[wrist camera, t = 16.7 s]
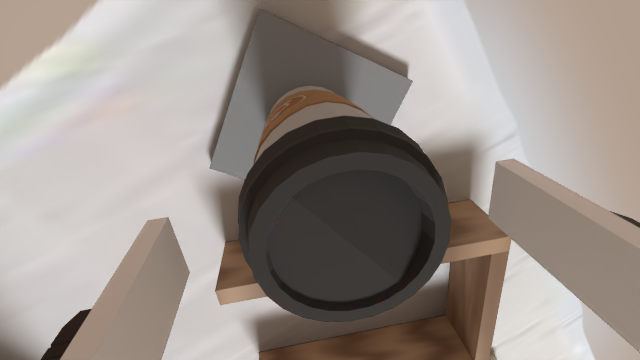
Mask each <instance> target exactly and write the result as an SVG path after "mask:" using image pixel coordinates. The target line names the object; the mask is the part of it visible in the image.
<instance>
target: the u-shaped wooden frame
mask: <svg viewBox="0 0 640 360" xmlns="http://www.w3.org/2000/svg"><path fill="white" fill-rule="evenodd" d="M448 208H449V212H450V216H451V231H450V241H449V244H448V247H447V250H446V252H445V255H444V258H443V260H442V262H441V264H442V263H448V262H450V274H449V286H448V298H447V309H446V315H444V316H439V317H434V318H429V319H424V320H419V321H414V322H409V323H404V324H399V325H394V326H389V327H384V328H379V329H374V330H369V331H364V332H359V333H354V334H349V335H344V336H339V337H334V338H329V339H324V340H319V341H314V342H309V343H304V344H299V345H294V346H289V347H283V348H278V349H273V350H268V351H263V352H259V360H489V356H490V351H491V345H492V340H493V335H494V329H495V324H496V319H497V313H498V308H499V303H500V297H501V292H502V286H503V281H504V276H505V270H506V265H507V260H508V254H509V249H510V244H511V238H510V237H509V236H508V235H507V234H505V233H504V232H503V231H502V230H501V229H500V228H499V227H498V226H496V225H495V224H494V223H493V222H492V221H491V220H490V219H488V215H487V214H486V213H485V212H484V211H483V210H482V209H481V208H479V207H478V206H477V205H476V204H475V203H474V202H473V201H472V200H465V201H459V202H454V203H448ZM215 292H216V294H217V297H218V300H219V303H220V305H224V304H229V303H235V302H240V301H245V300H251V299H256V298H261V297H267V296H266V294H265V293H264V291H263V290H262V289H261V287H260V286H259V284H258V283H257V281H256V280H255V278H254V276H253V272H252V270H251V268H250V267H249V265H248V264H247V263H246V261H245V258H244V255H243V251H242V248H241V244H240V241H239V240H236V241H230V242H226V243H225V247H224V252H223V257H222V261H221V266H220V271H219V275H218V280H217V285H216V290H215Z"/></svg>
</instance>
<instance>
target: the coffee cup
mask: <svg viewBox="0 0 640 360" xmlns="http://www.w3.org/2000/svg"><path fill="white" fill-rule="evenodd" d="M238 223H239V241H240V244H241V248H242V251H243V255H244V258H245V261H246V263H247V264H248V265H249V267H250V268H251V270H252V272H253V276H254V278H255V280H256V281H257V283H258V284H259V286H260V287H261V289H262V290H263V291H264V293H265V294H266V296H268V297H269V298H270V299H271V300H273V301H274V302H275V303H276V304H278V305H279V306H280V307H282V308H283V309H285V310H287V311H289V312H292V313H294V314H296V315H299V316H301V317H303V318H308V319H314V320H319V321H324V322H341V321H353V320H358V319H363V318H368V317H372V316H374V315H377V314H379V313H382V312H384V311H387V310H389V309H392V308H394V307H396V306H397V305H399V304H400V303H402V302H403V301H405V300H407V299H408V298H410V297H411V296H413V295H414V294H415V293H416V292H417V291H418V290H419V289H420V288H421V287H422V286H423V285H425V284H426V283H427V282H428V281H429V280H430V278H431V277H432V275H433V274H434V273H435V271H436V270H437V268H438V267H439V265H440V264H441V262H442V260H443V258H444V255H445V252H446V250H447V247H448V244H449V241H450V231H451V216H450V212H449V208H448V204H447V197H446V193H445V189H444V185H443V182H442V178H441V176H440V175H439V173H438V172H437V170H436V169H435V167H434V166H433V164H432V162H431V161H430V159H429V158H428V157H427V155H426V154H424V153H423V151H422V149H421V148H420V146H419V145H418V144H417V143H416V142H415V141H413V140H412V139H411V138H410V137H408V136H407V135H406V134H405V133H404V132H402V131H401V130H400V129H399V128H396V127H394V126H391V125H389V124H386V123H384V122H381V121H379V120H376V119H374V118H373V117H371V116H370V115H369V114H368V113H366V112H365V111H364V110H363V109H361V108H359V107H358V106H356V105H355V104H353V103H351V102H350V101H348V100H347V99H345V98H343V97H342V96H339V95H337V94H335V93H334V92H332V91H330V90H327V89H325V88H323V87H318V86H303V87H298V88H295V89H293V90H291V91H289V92H287V93H286V94H284V95H283V96H282V97H281V98H280V99H279V100H278V101H277V102H276V104H275V105H274V106H273V108H272V109H271V112H270V114H269V116H268V118H267V121H266V124H265V126H264V129H263V132H262V135H261V139H260V142H259V145H258V148H257V151H256V154H255V157H254V165H253V166H252V168H251V169H250V171H249V172H248V173H247V176H246V179H245V182H244V184H243V187H242V190H241V193H240V196H239V207H238Z"/></svg>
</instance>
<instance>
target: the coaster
mask: <svg viewBox="0 0 640 360" xmlns="http://www.w3.org/2000/svg"><path fill="white" fill-rule="evenodd" d="M412 82H413V81H412V80H410V79H408V78H406V77H404V76H402V75H399V74H397V73H395V72H393V71H391V70H389V69H387V68H385V67H382V66H380V65H378V64H376V63H374V62H372V61H370V60H368V59H365V58H363V57H361V56H359V55H357V54H355V53H353V52H351V51H348V50H346V49H344V48H342V47H340V46H338V45H336V44H334V43H331V42H329V41H327V40H325V39H323V38H321V37H319V36H317V35H314V34H312V33H310V32H308V31H306V30H304V29H302V28H300V27H297V26H295V25H293V24H291V23H289V22H287V21H285V20H283V19H280V18H278V17H276V16H274V15H272V14H270V13H268V12H266V11H264V10H261V9H259V12H258V15H257V18H256V21H255V25H254V28H253V31H252V34H251V37H250V41H249V44H248V47H247V50H246V53H245V56H244V60H243V63H242V66H241V69H240V72H239V75H238V79H237V82H236V85H235V88H234V91H233V95H232V98H231V101H230V104H229V107H228V110H227V114H226V117H225V120H224V123H223V126H222V130H221V133H220V136H219V139H218V142H217V145H216V149H215V152H214V155H213V158H212V161H211V164H210V169H213V170H216V171H220V172H223V173H226V174H229V175H233V176H236V177H239V178H242V179H246V176H247V173H248V172H249V171H250V169H251V168H252V166H253V165H254V157H255V154H256V151H257V148H258V145H259V142H260V139H261V135H262V132H263V129H264V126H265V124H266V121H267V118H268V116H269V114H270V112H271V109H272V108H273V106H274V105H275V104H276V102H277V101H278V100H279V99H280V98H281V97H282V96H283V95H284V94H286V93H287V92H289V91H291V90H293V89H295V88H298V87H303V86H318V87H323V88H325V89H327V90H330V91H332V92H334V93H335V94H337V95H339V96H342V97H343V98H345V99H347V100H348V101H350V102H351V103H353V104H355V105H356V106H358V107H359V108H361V109H363V110H364V111H365V112H366V113H368V114H369V115H370V116H371V117H373V118H374V119H376V120H379V121H381V122H384V123H386V124H389V125H390V124H391V122H392V120H393V119H394V117H395V115H396V113H397V111H398V109H399V107H400V105H401V103H402V101H403V99H404V97H405V95H406V93H407V91H408V89H409V88H410V86H411V84H412Z"/></svg>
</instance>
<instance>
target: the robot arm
mask: <svg viewBox="0 0 640 360" xmlns="http://www.w3.org/2000/svg"><path fill="white" fill-rule="evenodd" d="M488 219H490V220H491V221H492V222H493V223H494V224H495V225H496V226H498V227H499V228H500V229H501V230H502V231H503V232H504V233H505V234H507V235H508V236H509V237H510V238H511V239H512V240H513V241H514V242H516V243H517V244H518V245H519V246H520V247H521V248H522V249H523V250H525V251H526V252H527V253H528V254H529V255H530V256H531V257H532V258H534V259H535V260H536V261H537V262H538V263H539V264H540V265H541V266H543V267H544V268H545V269H546V270H547V271H548V272H549V273H550V274H552V275H553V276H554V277H555V278H556V279H557V280H558V281H559V282H561V283H562V284H563V285H564V286H565V287H566V288H567V289H568V290H570V291H571V292H572V293H573V294H574V295H575V296H576V297H577V298H579V299H580V300H581V301H582V302H583V303H584V304H585V305H587V306H588V307H589V308H590V309H591V310H592V311H593V312H594V313H595V314H597V315H598V316H599V317H600V318H601V319H602V320H603V321H604V322H606V323H607V324H608V325H609V326H610V327H611V328H612V329H613V330H615V331H616V332H617V333H618V334H619V335H620V336H621V337H622V338H624V339H625V340H626V341H627V342H628V343H629V344H631V345H632V346H633V347H634V348H635V349H636V350H637V351H639V353H640V223H639V222H637V221H635V220H633V219H631V218H628V217H625V216H623V215H619V214H617V213H614V212H611V211H608V210H606V209H604V208H602V207H601V206H599V205H597V204H595V203H593V202H592V201H590V200H588V199H586V198H584V197H583V196H580V195H579V194H577V193H575V192H573V191H572V190H570V189H568V188H566V187H564V186H562V185H561V184H559V183H557V182H555V181H553V180H552V179H550V178H548V177H546V176H544V175H543V174H541V173H539V172H537V171H535V170H533V169H532V168H530V167H528V166H526V165H524V164H523V163H521V162H519V161H517V160H515V159H509V160H503V161H497V162H496V165H495V172H494V180H493V187H492V194H491V201H490V208H489V215H488ZM189 273H190V272H189V269H188V267H187V264H186V262H185V259H184V256H183V254H182V251H181V249H180V246H179V244H178V241H177V238H176V236H175V233H174V231H173V228H172V226H171V223H170V220H169V218H168V217H166V218H160V219H154V220H148V221H147V222H146V224H145V225H144V227H143V229H142V230H141V232H140V233H139V235H138V236H137V238H136V240H135V241H134V243H133V244H132V246H131V248H130V249H129V251H128V252H127V254H126V256H125V257H124V259H123V260H122V262H121V263H120V265H119V267H118V268H117V270H116V271H115V273H114V275H113V276H112V278H111V279H110V281H109V283H108V284H107V286H106V287H105V289H104V290H103V292H102V294H101V295H100V297H99V298H98V300H97V302H96V303H95V305H94V306H93V308H92V309H88V310H83V311H80V312H79V313H78V314H77V315H76V316H74V317H73V318H72V319H71V320H70V321H69V322H68V323H67V324H66V325H65V326H64V327H63V328H62V329H61V331H60V332H59V334H58V335H57V337H56V338H55V339H54V341H53V342H52V344H51V348H48V350H47V351H46V353H45V354H44V355H43V357H42V358H41V360H161V359H162V356H163V353H164V350H165V347H166V344H167V341H168V338H169V334H170V331H171V328H172V325H173V322H174V319H175V316H176V313H177V310H178V307H179V304H180V301H181V298H182V295H183V292H184V289H185V285H186V282H187V279H188V276H189Z"/></svg>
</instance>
